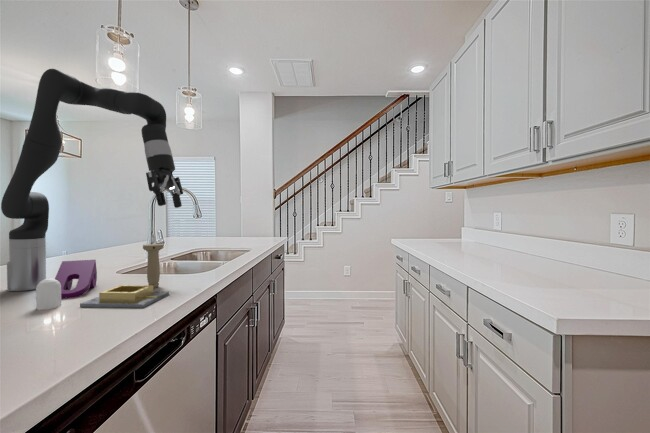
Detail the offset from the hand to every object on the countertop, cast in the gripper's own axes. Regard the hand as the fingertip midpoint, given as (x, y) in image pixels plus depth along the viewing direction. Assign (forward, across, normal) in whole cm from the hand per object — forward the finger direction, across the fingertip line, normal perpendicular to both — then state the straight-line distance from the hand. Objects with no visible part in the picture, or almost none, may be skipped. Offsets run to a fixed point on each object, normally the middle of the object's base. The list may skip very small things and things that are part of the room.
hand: (170, 206), depth 100 cm
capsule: (+21, +13, -34) cm, 42 cm away
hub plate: (+25, +4, -18) cm, 31 cm away
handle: (+24, -12, -20) cm, 33 cm away
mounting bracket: (+18, -3, -41) cm, 45 cm away
